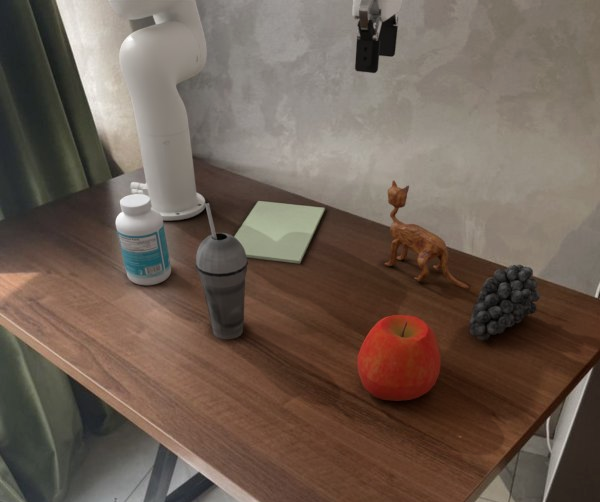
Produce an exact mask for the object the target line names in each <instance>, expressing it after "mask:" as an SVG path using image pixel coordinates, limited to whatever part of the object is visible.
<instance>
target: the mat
mask: <svg viewBox="0 0 600 502" xmlns="http://www.w3.org/2000/svg"><path fill="white" fill-rule="evenodd" d="M325 211H326V208H325V207H321V206H320V207H319V206H311V205H301V204H292V203H281V202H272V201H263V200H258V201H257V202H256V203H255V205H254V206H253V207H252V209H251V211H250V212H249V214H248V215H247V217H246V219H245V220H244V221H243V222H242V225H241V226H240V227H239V228H238V230H237V232H236V233H235V235H234V236H233V237H235V238H236V239H237V240H238V241H239V242H240V243H241V244H242V246H243V248H244V250H245V253H246V257H247V258H250V259H256V260H266V261H274V262H280V263H281V262H283V263H290V264H299V265H300V264H301V262H302V261H303V258H304V256H305V254H306V252H307V249H308V247H309V245H310V243H311V241H312V239H313V237H314V234H315V232H316V231H317V228H318V226H319V224H320V221H321V220H322V217H323V216H324V213H325Z"/></svg>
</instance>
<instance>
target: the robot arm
mask: <svg viewBox="0 0 600 502" xmlns="http://www.w3.org/2000/svg"><path fill="white" fill-rule="evenodd" d="M107 2H108V4H109V6H110V8H111V9H112V11H113V13H115V14H116V15H117V16H118V17H119V18H122V19H124V20H129V21H133V20H140V19H141V20H142V19H145V18H148V17H153V21H154V23H155V24H152V25H149V26H145V27H142V28H139V29H138V30H135V31H132V32H131V33H130V34H128V36H127V37H126V38H124V40H123V42H122V44H121V45H120V49H119V52H118V62H119V68H120V71H121V75H122V77H123V80H124V84H125V86H126V88H127V91H128V95H129V98H130V101H131V106H132V110H133V115H134V121H135V126H136V131H137V137H138V143H139V149H140V154H141V160H142V161H141V162H142V167H143V172H144V178H145V183H142V182H137V181H131V183H130V185H129V189H130V195H133V194H143V195H147V196H149V197H150V200H151V204H152V206H151V208H153V209H155V210H157V211H158V212H159V213H160V214H161V216H162V219H163V221H167V222H168V221H170V222H171V221H182V220H186V219H190V218H193V217H195V216H197V215H199V214H200V213H202V212H203V211H204V210H205V209H206V206H205V204H206V199H205V197H204V196H203V195H202V194H200V193H199V192H197V186H196V176H195V168H194V159H193V150H192V142H191V133H190V126H189V118H188V112H187V109H186V106H185V103H184V101H183V99H182V97H181V95H180V93H179V91H178V89H177V85H178V84H180V83H182V82H184V81H187V80H189V79H191V78H194V77H195V76H197V75H199V74H200V73H201V72H202V70H203V69H204V67H205V65H206V63H207V60H208V59H207V58H208V48H207V40H206V36H205V32H204V29H203V25H202V20H201V16H200V13H199V9H198V5H197V2H196V0H107ZM402 4H403V0H352V9H351V15H352V18H353V19H354V20H358V21H357V31H356V47H355V63H354V69H355V72H361V73H369V74H376V73H377V72H378V71H379V62H380V57H389V58H392V57H394V56H395V55H396V47H397V39H398V28H399V26H398V25H399V11H400V10H401V9H402Z"/></svg>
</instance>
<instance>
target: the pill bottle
mask: <svg viewBox="0 0 600 502" xmlns="http://www.w3.org/2000/svg"><path fill="white" fill-rule="evenodd" d="M119 204H120V209H121V212H120V213H118V215H117V216H116V218H115V228H116V232H117V236H118V240H119V245H120V250H121V254H122V258H123V264H124V268H125V272H126V275H127V278H128V280H129V281H131V282H132V283H134V284H136V285H139V286H154V285H158V284H160V283H163V282H164V281H166V280H167V279H168V278H169V277H170V275H171V274H172V266H171V259H170V254H169V249H168V241H167V237H166V231H165V225H164V220H163V219H162V216H161V214H160V213H159V212H158V211H157V210H155V209H153V208H151V206H152V204H151V200H150V197H149V196H147V195H143V194H133V195H131V194H128V195H125V196H124V197H122V198H121V199H120V200H119Z"/></svg>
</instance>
